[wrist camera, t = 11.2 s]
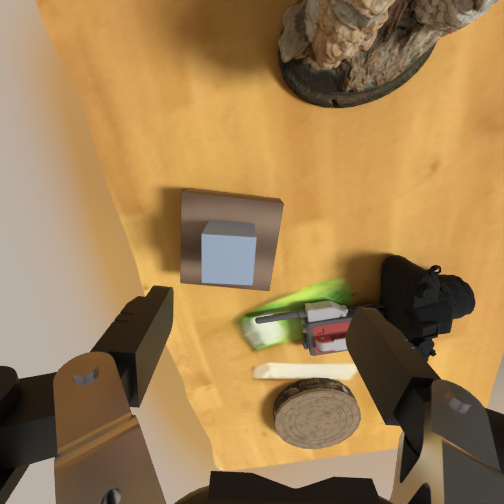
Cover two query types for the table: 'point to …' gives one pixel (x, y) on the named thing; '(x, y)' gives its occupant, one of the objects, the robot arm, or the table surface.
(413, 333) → the film camera
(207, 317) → the table surface
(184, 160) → the table surface
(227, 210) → the brown block
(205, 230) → the blue cube
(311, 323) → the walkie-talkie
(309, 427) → the wood log slice
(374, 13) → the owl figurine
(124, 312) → the robot arm
